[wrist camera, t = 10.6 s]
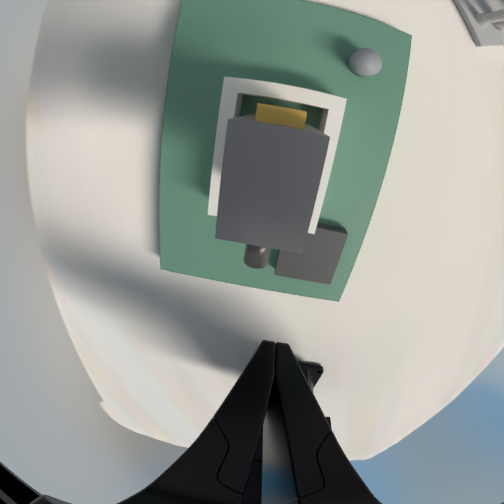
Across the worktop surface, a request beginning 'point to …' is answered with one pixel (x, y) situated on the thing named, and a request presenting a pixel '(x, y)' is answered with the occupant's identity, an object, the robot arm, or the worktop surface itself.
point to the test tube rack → (483, 20)
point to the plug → (269, 181)
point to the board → (283, 95)
